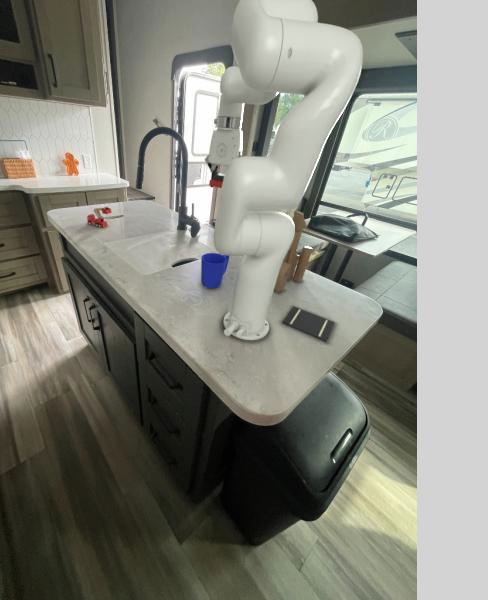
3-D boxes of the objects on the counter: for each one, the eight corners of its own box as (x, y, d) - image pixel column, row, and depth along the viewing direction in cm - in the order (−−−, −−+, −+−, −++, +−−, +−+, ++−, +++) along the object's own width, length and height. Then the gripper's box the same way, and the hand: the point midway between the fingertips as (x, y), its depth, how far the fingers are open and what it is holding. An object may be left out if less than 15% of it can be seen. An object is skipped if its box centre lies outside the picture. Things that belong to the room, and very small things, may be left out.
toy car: (234, 187, 94) (220, 184, 97) (236, 175, 92) (222, 172, 95) (222, 190, 89) (208, 187, 91) (224, 177, 87) (210, 175, 89)
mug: (234, 281, 95) (238, 255, 89) (212, 293, 87) (216, 266, 82) (216, 272, 99) (219, 247, 94) (194, 283, 92) (196, 257, 86)
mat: (325, 341, 72) (326, 340, 71) (282, 323, 77) (283, 321, 77) (333, 323, 79) (334, 322, 78) (293, 307, 84) (294, 306, 84)
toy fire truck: (91, 222, 134) (88, 202, 129) (113, 227, 130) (111, 207, 124) (86, 223, 132) (83, 203, 126) (108, 229, 127) (106, 209, 122)
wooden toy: (278, 293, 90) (300, 220, 76) (262, 284, 94) (280, 213, 80) (303, 280, 98) (327, 212, 84) (287, 273, 102) (308, 206, 88)
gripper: (199, 122, 84) (195, 183, 94) (249, 126, 76) (239, 192, 86) (212, 122, 89) (207, 181, 99) (259, 126, 81) (249, 189, 91)
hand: (221, 186), depth 93 cm, fingers closed on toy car, 5 cm apart
